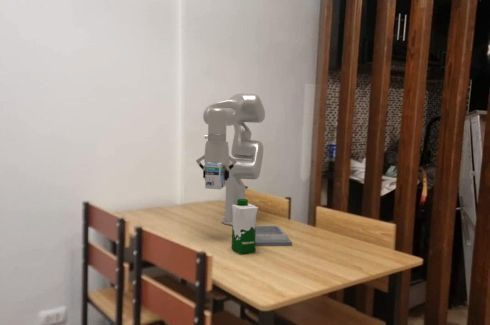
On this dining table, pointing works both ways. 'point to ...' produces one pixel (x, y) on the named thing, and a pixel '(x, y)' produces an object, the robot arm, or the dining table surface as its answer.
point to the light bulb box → (215, 176)
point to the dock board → (272, 243)
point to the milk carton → (244, 227)
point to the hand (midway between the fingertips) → (216, 179)
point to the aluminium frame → (273, 237)
